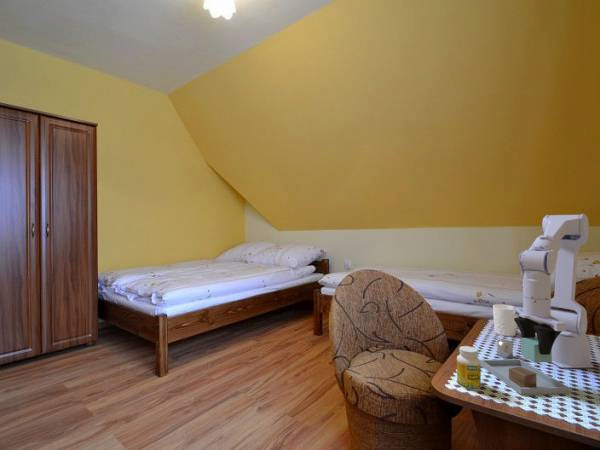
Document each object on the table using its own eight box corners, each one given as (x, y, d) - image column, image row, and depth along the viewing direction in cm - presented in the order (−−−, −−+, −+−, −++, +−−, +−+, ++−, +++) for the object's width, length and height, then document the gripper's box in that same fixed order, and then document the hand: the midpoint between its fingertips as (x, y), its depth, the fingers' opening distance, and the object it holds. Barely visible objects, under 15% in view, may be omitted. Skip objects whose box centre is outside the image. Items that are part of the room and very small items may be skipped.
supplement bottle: (469, 380, 83) (469, 344, 83) (486, 390, 77) (485, 352, 77) (452, 382, 81) (452, 345, 81) (467, 393, 76) (467, 354, 76)
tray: (519, 365, 91) (519, 358, 91) (569, 396, 75) (569, 387, 75) (479, 366, 90) (479, 359, 90) (520, 397, 74) (520, 388, 74)
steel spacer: (506, 355, 98) (506, 339, 98) (516, 360, 94) (516, 344, 94) (494, 355, 98) (494, 339, 98) (503, 360, 94) (503, 344, 94)
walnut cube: (520, 381, 80) (520, 366, 80) (536, 389, 77) (536, 373, 77) (508, 384, 79) (508, 368, 79) (524, 392, 75) (524, 375, 75)
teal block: (537, 354, 82) (537, 337, 82) (551, 362, 78) (551, 344, 78) (520, 354, 82) (520, 337, 82) (534, 362, 78) (534, 344, 78)
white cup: (521, 337, 113) (521, 310, 113) (497, 336, 115) (497, 309, 115) (511, 330, 121) (511, 304, 121) (489, 329, 122) (489, 303, 122)
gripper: (502, 291, 87) (502, 339, 87) (544, 304, 73) (544, 362, 73) (526, 290, 88) (526, 339, 88) (573, 304, 73) (574, 362, 73)
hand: (536, 349), depth 80 cm, fingers closed on teal block, 4 cm apart
